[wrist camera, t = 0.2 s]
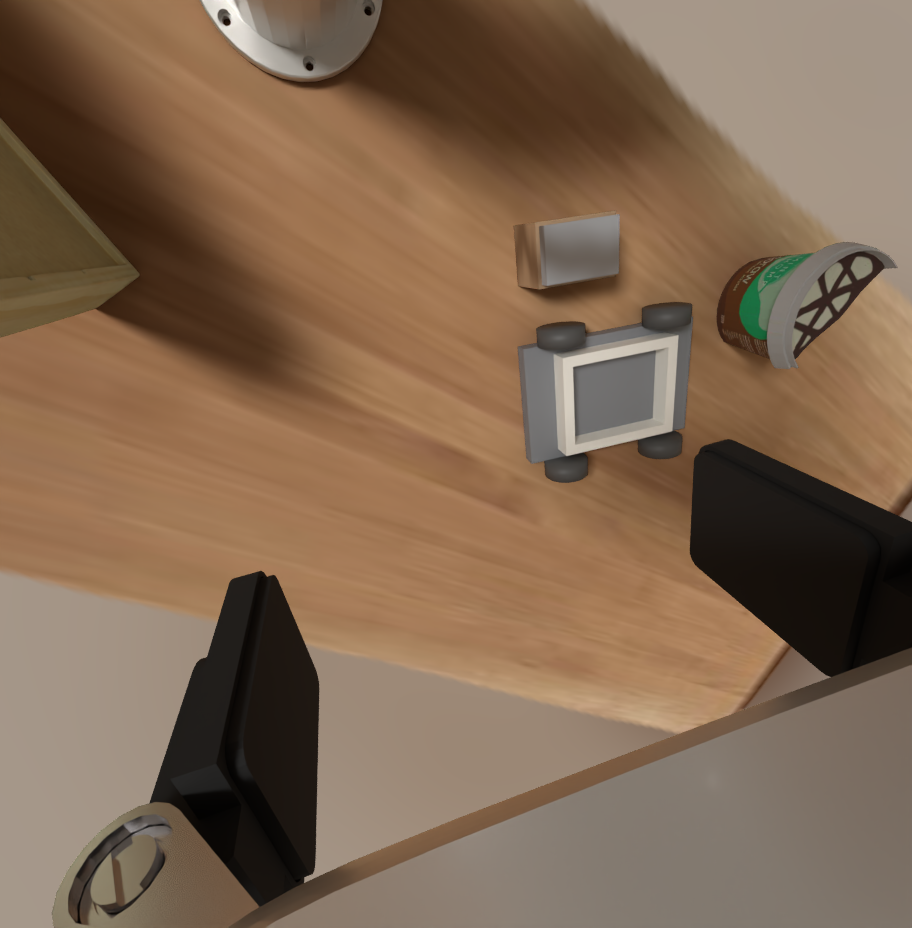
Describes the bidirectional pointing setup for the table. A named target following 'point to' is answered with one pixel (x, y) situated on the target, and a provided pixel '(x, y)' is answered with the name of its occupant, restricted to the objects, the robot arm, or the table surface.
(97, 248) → the flat product box
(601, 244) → the grey block on wood
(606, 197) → the table surface
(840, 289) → the food container
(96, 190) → the table surface
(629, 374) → the chassis
